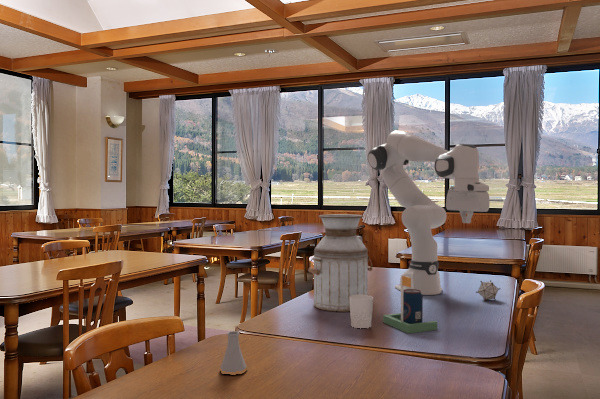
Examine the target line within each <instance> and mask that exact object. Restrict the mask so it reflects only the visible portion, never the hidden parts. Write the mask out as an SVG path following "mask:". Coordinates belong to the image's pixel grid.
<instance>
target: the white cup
mask: <svg viewBox="0 0 600 399" xmlns="http://www.w3.org/2000/svg"><path fill="white" fill-rule="evenodd" d="M349 301H350V313H349V315H350V325H351V326H352V327H351V328H353V327H354V328H353V329H357V328H360V329H359V330H362V329H361V328H367V329H370V328H371V327H372V319H373V305H374V304H373V302H374V297H373V296H372V295H370V294H368V295H351V296H350V297H349ZM369 327H370V328H369Z"/></svg>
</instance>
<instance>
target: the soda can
mask: <svg viewBox="0 0 600 399" xmlns="http://www.w3.org/2000/svg"><path fill="white" fill-rule="evenodd" d="M403 291H404V292H403V322H405V323H408V324H414V323H422V322H423V320H424V319H423V315H424V314H423V313H424V312H423V307H424V306H423V302H424V300H423V298H424V297H423V296H424V295H422V294H421V291H420V290H416V289H406V290H403Z"/></svg>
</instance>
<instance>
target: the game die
mask: <svg viewBox="0 0 600 399" xmlns="http://www.w3.org/2000/svg"><path fill="white" fill-rule="evenodd" d="M499 290H501V288H500V287H499V288H498V287H497V286H496V285H495V284H494V282H492V280H491V279H490V281H482V280H480V285H479V288H478V290H477V291H475V293H476V294H479V295H480V297H482V298H483V300H484V302H486V301H487V300H494V301H496V300H497V299H496V296H497V294H498V291H499Z"/></svg>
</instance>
